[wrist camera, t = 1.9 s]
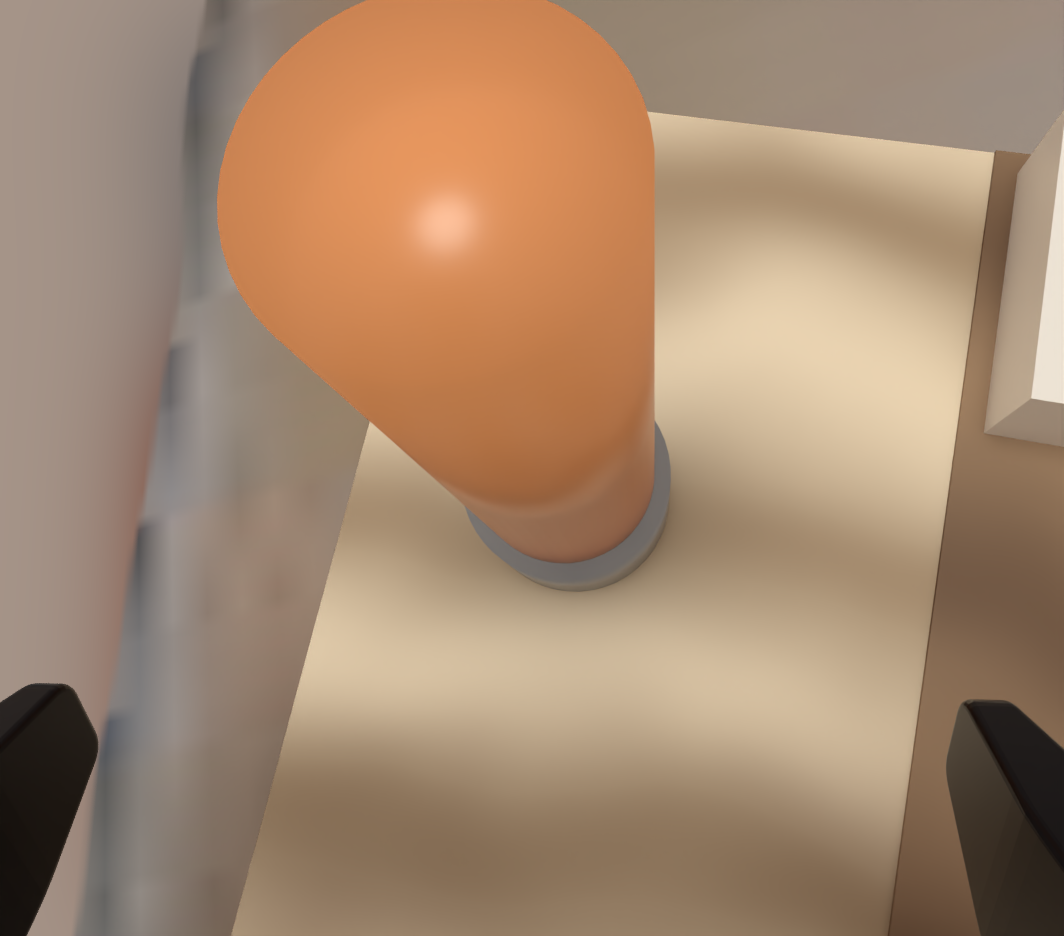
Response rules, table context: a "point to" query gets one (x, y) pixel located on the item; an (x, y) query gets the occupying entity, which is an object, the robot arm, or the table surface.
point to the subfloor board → (705, 600)
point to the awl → (469, 262)
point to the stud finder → (1033, 305)
